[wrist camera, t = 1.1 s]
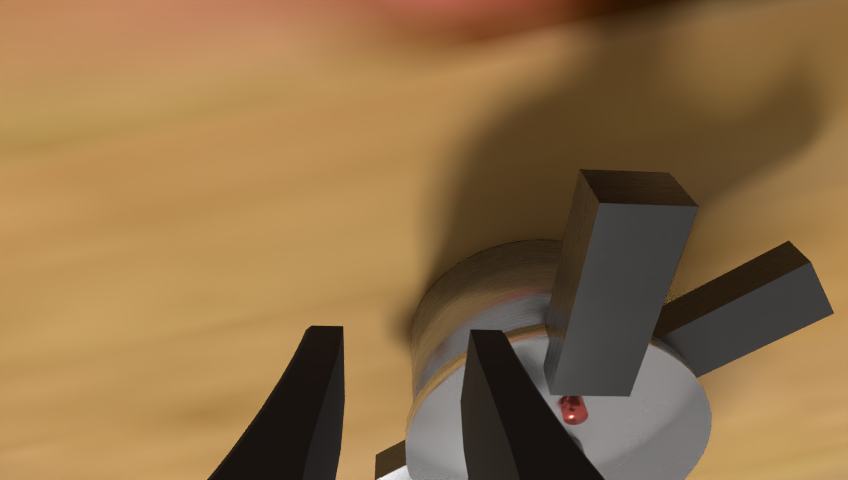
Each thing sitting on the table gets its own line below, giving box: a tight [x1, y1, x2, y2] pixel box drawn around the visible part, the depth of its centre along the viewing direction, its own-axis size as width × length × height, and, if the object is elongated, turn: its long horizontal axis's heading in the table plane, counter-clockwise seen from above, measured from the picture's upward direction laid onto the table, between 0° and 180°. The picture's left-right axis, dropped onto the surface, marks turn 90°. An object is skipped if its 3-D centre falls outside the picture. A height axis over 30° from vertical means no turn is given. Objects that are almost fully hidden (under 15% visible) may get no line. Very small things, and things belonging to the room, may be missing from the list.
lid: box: [405, 169, 711, 480], centre depth 19 cm, size 16×11×2 cm
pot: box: [375, 240, 834, 480], centre depth 23 cm, size 17×10×5 cm, turn 127°
